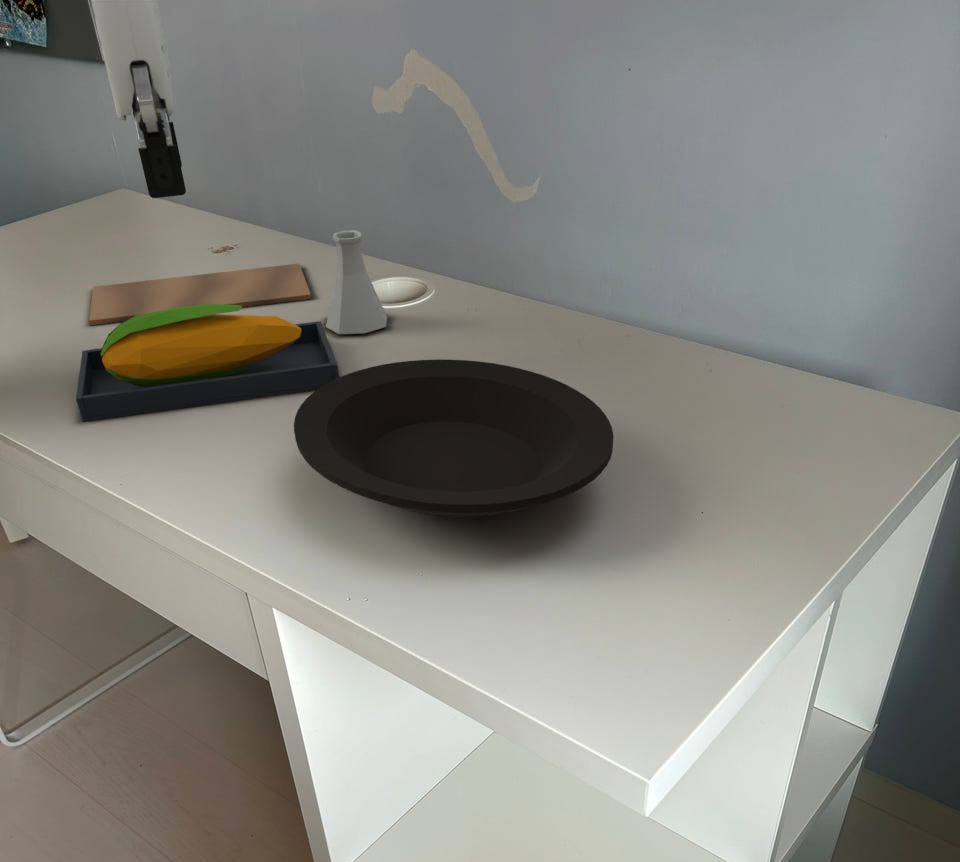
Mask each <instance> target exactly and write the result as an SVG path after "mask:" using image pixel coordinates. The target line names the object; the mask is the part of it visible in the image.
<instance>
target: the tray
mask: <svg viewBox="0 0 960 862" xmlns="http://www.w3.org/2000/svg"><path fill="white" fill-rule="evenodd" d="M294 324H295V325H297V326H298V327H300V328H301V329H302V330H301V334H300V337H299V338H298V339H297V340H296V341H295V342H294V343H293V344H292V345H291V346H289V347H287V348H285V349H283V350H281V351H279V352H277V353H276V354H274V355H272V356H270V357H268V358H266V359H264V360H262V361H260V362H256V363H253V364H250V365H246V366H243V367H239V368H236V369H239V370H243V371H244V373H242V374H238V375H234V376H229V377H221V378H213V379H206V380H198V381H191V382H183V383H176V384H168V385H160V386H153V387H146V386H137V385H134V384H131V383H128V382H125V381H122V380H119V379H117V378H116V377H114V376H113V375H112V374H111V373H109V372H108V371H107V370H106V368H105V367H104V364H103V361H102V357H103V356H101V349H102V347H101V348H94V349H93V348H92V349H84V350H81V358H80V366H79V373H78V379H77V389H76V394H75V395H76V397H75V401H76V404H77V407H78V410H79V415H80V417H81V420H82V423H83V422H91V421H97V420H105V419H106V420H107V419H113V418H119V417H127V416H128V417H129V416H133V415H134V416H135V415H143V414H149V413H156V412H164V411H171V410H179V409H184V408H186V409H187V408H192V407H202V406H209V405H217V404H223V403H229V402H231V403H232V402H237V401H245V400H251V399H259V398H267V397H273V396H281V395H287V394H289V395H290V394H296V393H303V392H310V391H316V390H317V389H319V388H320V387H322V386H324V385H325V384H327V383H329V382H331V381H333V380H335V379H337V378H339V377H340V376H339V375H340V374H339V368H338V367H339V366H338V364H337V361H336V358H335V355H334V352H333V350H332V347H331V344H330V342H329V339H328V336H327V334H326V331H325V328H324V326H323V323H322V321H321V320H319V321H318V320H317V321H311V322H310V321H309V322H302V323H294Z"/></svg>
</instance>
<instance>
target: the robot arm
mask: <svg viewBox="0 0 960 862" xmlns="http://www.w3.org/2000/svg"><path fill="white" fill-rule="evenodd" d="M91 7H92V11H93V12H92V13H93V16H94V21H95V27H96V31H97V35H98V40H99V43H100V48H101V52H102V57H103V61H104V65H105V69H106V74H107V77H108V82H109V86H110V92H111V95H112V99H113V100H112V101H113V103H114V108H115V109H114V110H115V114H116V118H118V119H119V120H120V121H121V122H127V116H132V115H133V120H134V124H135V129H136V133H137V139H138V143H139V147H138V154H139V158H140V162H141V167H142V171H143V175H144V179H145V183H146V188H147V191H148V196H149V197H150V198H152V199H161V198H168V197H177V196H178V197H179V196H184V195H185V194H186V192H187V190H186V188H187V187H186V185H185V180H184V174H183V170H182V167H183V163H182V158H181V154H180V148H179V144H178V140H177V136H176V130H175V125H174V121H171V120H170V118H171V116H172V115H173V114H174V113H175V104H174V90H173V81H172V71H171V65H170V64H171V63H170V59H169V57H170V56H169V52H168V46H167V45H168V44H167V40H166V35H165V29H164V24H163V18H162V13H161V9H160V4H159V0H91Z"/></svg>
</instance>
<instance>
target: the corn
mask: <svg viewBox="0 0 960 862" xmlns="http://www.w3.org/2000/svg"><path fill="white" fill-rule="evenodd" d="M242 308H243V307H242V306H241V305H226V304H205V305H195V306H186V307H179V308H174V309H168V310H162V311H157V312H152V313H147V314H141V315H136V316H134V317H132V318H130V319H128V320H126V321H123V322H120V323H119V324H118V325H117V326H116V327H115V328H114V329H113V330H112V331H110V333H108V335H107V337H106V338H105V341H104V342H103V345H102V347H101V348H102V349H101V356H103V357H102V361H103V364H104V367H105V368H106V370H107V371H108V372H109V373H111V374H112V375H113V376H114V377H116V378H117V379H119V380H122V381H125V382H128V383H131V384H134V385H137V386H146V387H153V386H160V385H168V384H176V383H183V382H191V381H198V380H206V379H213V378H221V377H229V376H234V375H238V374H242V373H244V371H243V370H239V369H236V368H239V367H243V366H246V365H250V364H253V363H256V362H260V361H262V360H264V359H266V358H268V357H270V356H272V355H274V354H276V353H277V352H279V351H281V350H283V349H285V348H287V347H289V346H291V345H292V344H293V343H294V342H295V341H296V340H297V339H298V338H299V337H300V334H301V330H302V329H301V328H300V327H298V326H297V325H295V324H296V323H292V322H291V321H288V320H286V319H283V318H281V317H279V316H276V315H252V314H250V315H249V314H227V313H234V312H238V311H240V310H241V309H242ZM225 313H226V314H225Z"/></svg>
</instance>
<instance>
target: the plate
mask: <svg viewBox="0 0 960 862" xmlns="http://www.w3.org/2000/svg"><path fill="white" fill-rule="evenodd" d="M293 434H294V440H295V443H296V447H297V450H298V451H299V453H300V455H301V456H302V458H303V459H304V461H305V462H306V463H307V464H308V465H309V466H310V467H311V468H312V469H313V470H314V471H315V472H317V473H318V474H319V475H320V476H322V478H325V479H326V480H327V481H329V482H331V483H333V484H335V485H336V486H338V487H340V488H342V489H344V490H346V491H348V492H351V493H353V494H355V495H358V496H361V497H364V498H366V499H369V500H373V501H376V502H379V503H382V504H386V505H388V506H391V507H395V508H399V509H402V510H405V511H410V512H415V513H421V514H425V515H432V516H433V515H434V516H442V517H443V516H445V517H465V518H466V517H485V516H494V515H500V514H501V515H502V514H507V513H512V512H516V511H520V510H523V509H528V508H531V507H532V508H533V507H536V506H539V505H543V504H547V503H551V502H553V501H556V500H559V499H562V498H565V497H566V496H569V495H571V494H574V493H576V492H578V491H579V490H581V489H583V488H584V487H586V486H587V485H589V484H590V483H591V482H593V481H594V480H595V479H596V478H597V477H599V476H600V475H601V474H602V473H603V471H604V470H605V469H606V467H608V465H609V463H610V461H611V458H612V455H613V450H614V449H613V448H614V431H613V427H612V424H611V422H610V420H609V418H608V417H607V414H605V412H604V411H603V410H602V409H601V408H600V406H598V405H597V404H596V403H595V402H594V401H593V400H591V399H590V398H589V396H588V397H587V396H586V395H585V394H583V393H582V392H580V391H579V390H577V389H575V388H573V387H571V386H570V385H568V384H565V383H564V382H561V381H559V380H556V379H555V378H551V377H550V376H546V375H545V374H544V375H543V374H540V373H537V372H534V371H530V370H527V369H524V368H520V367H516V366H515V367H514V366H510V365H506V364H500V363H493V362H485V361H478V360H468V359H467V360H466V359H442V358H441V359H436V358H435V359H415V360H405V361H397V362H391V363H385V364H380V365H373V366H369V367H366V368H362V369H359V370H356V371H352V372H350V373H347V374H344V375H342V376H339V378H337V379H335V380H333V381H331V382H329V383H327V384H325V385H324V386H322V387H320V388H319V389H317V390H314V391H313V392H312V393H311V394H309V396H307V397H306V398H305V400H304V401H303V402H302V403H301V405H300V406H299V408H298V409H297V411H296V414H295V416H294V421H293Z"/></svg>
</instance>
